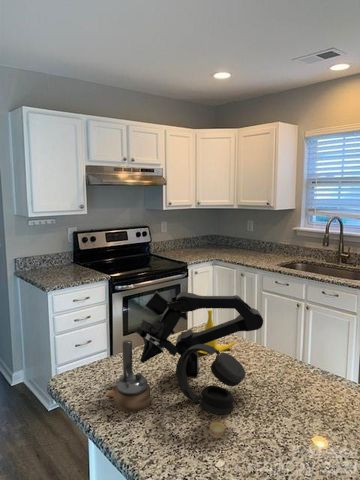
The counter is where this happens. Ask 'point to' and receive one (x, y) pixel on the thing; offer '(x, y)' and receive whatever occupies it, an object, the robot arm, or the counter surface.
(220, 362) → the headphones
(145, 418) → the counter surface
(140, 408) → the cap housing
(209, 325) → the banana peel
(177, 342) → the robot arm
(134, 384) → the lugged disk with column
